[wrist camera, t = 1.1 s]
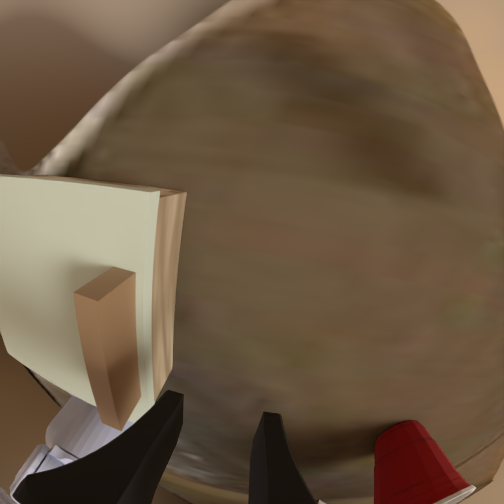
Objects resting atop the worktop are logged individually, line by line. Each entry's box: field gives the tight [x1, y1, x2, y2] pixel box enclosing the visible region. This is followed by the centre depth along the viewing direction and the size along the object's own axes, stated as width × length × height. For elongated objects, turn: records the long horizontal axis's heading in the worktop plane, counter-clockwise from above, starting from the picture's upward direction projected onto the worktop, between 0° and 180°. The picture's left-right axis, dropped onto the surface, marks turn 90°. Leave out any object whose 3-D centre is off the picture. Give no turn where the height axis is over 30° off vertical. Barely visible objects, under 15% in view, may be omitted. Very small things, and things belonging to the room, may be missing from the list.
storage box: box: [35, 175, 187, 401], centre depth 16 cm, size 14×14×5 cm
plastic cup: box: [374, 420, 476, 504], centre depth 16 cm, size 11×11×12 cm
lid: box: [0, 174, 160, 431], centre depth 11 cm, size 15×15×4 cm
